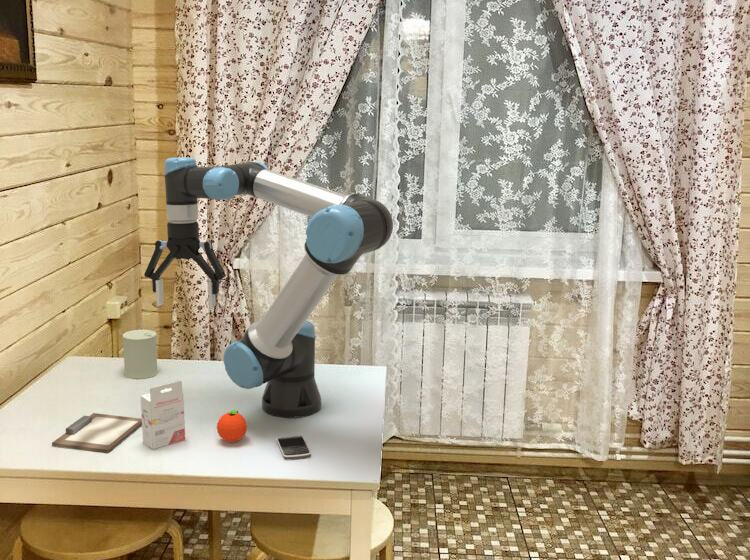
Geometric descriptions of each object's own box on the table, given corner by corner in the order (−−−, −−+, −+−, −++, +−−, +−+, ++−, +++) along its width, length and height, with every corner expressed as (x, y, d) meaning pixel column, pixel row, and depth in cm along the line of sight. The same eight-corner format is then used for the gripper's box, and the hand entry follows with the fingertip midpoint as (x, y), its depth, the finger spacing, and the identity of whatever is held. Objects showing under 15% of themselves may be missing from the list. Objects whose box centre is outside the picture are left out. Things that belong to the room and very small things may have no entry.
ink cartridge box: (174, 433, 205) (172, 374, 201) (185, 440, 201) (183, 380, 198) (141, 442, 199) (139, 382, 195) (152, 450, 195) (149, 388, 192)
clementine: (224, 431, 206) (224, 403, 204) (252, 434, 205) (252, 406, 203) (212, 445, 199) (212, 416, 197) (241, 448, 197) (241, 419, 196)
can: (149, 380, 238) (147, 338, 235) (118, 377, 240) (116, 336, 237) (163, 369, 247) (162, 329, 244) (133, 366, 249) (131, 326, 246)
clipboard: (145, 422, 210) (145, 413, 210) (108, 453, 193) (108, 443, 193) (93, 416, 213) (92, 407, 213) (52, 446, 196) (51, 437, 196)
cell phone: (284, 462, 192) (284, 456, 192) (275, 442, 202) (275, 436, 202) (311, 459, 194) (311, 454, 193) (301, 439, 204) (301, 434, 204)
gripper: (236, 220, 213) (239, 304, 217) (140, 218, 217) (145, 301, 221) (226, 224, 206) (229, 310, 210) (127, 222, 210) (132, 307, 214)
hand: (186, 306), depth 216 cm, fingers open, 13 cm apart
